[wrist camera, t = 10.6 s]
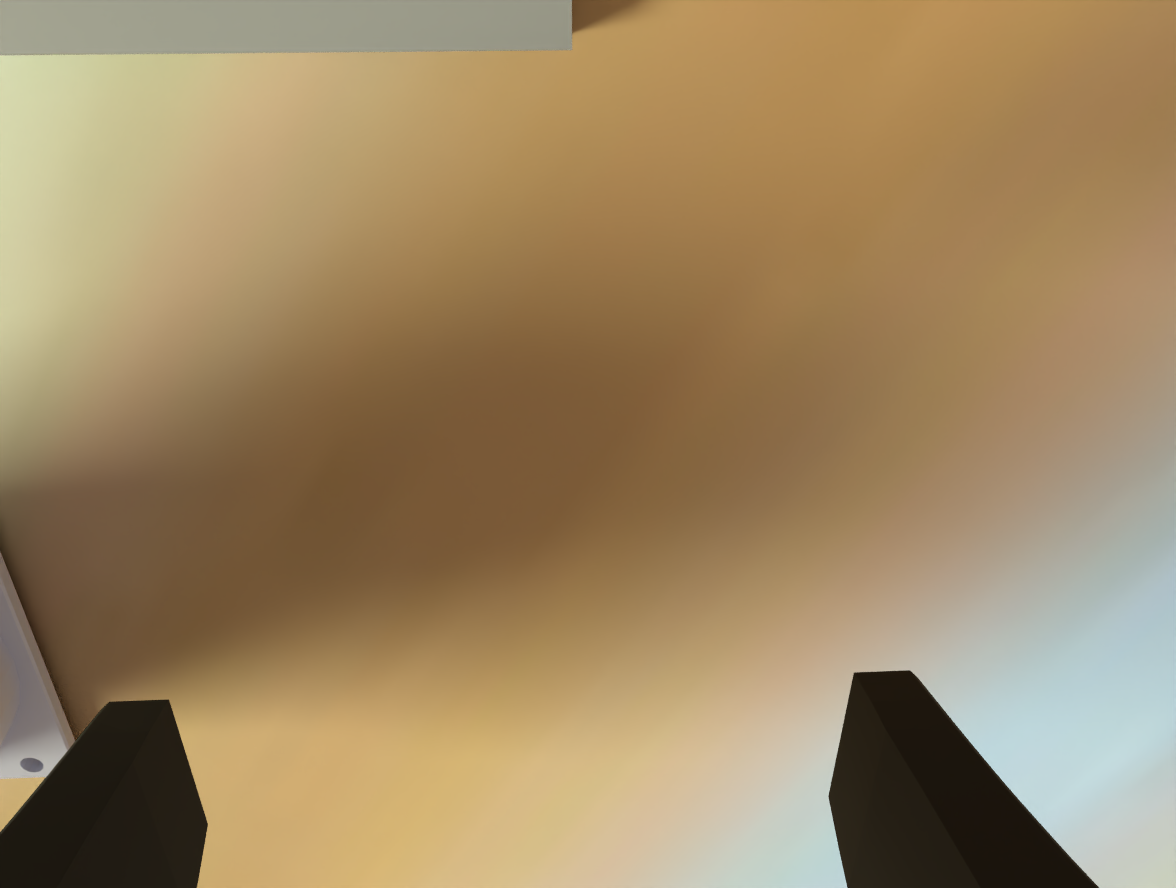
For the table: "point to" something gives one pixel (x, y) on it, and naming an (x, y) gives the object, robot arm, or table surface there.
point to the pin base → (281, 26)
